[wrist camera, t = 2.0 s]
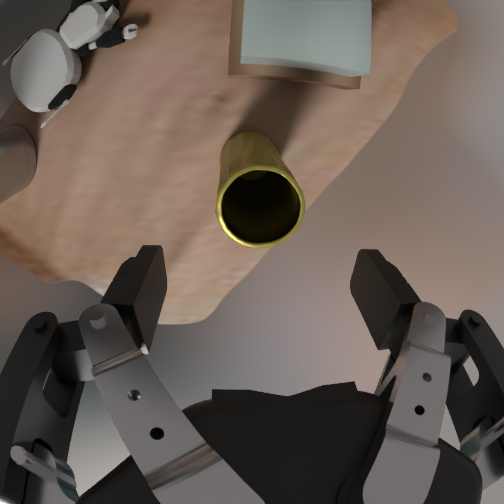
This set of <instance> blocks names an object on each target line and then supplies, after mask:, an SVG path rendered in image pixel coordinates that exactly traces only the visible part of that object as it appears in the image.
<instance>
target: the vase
mask: <svg viewBox="0 0 504 504" xmlns="http://www.w3.org/2000/svg"><path fill="white" fill-rule="evenodd" d="M220 165H221V167H220V182H219V187H218V192H217V203H216V210H215V212H216V217H217V220H218V222H219V224H220V226H221V227H222V229H223V230H224V232H225V233H226V234H227V235H228V236H229V237H230V238H231V239H232V240H234V241H235V242H237V243H239V244H241V245H243V246H246V247H250V248H266V247H271V246H275V245H277V244H280V243H281V242H283V241H285V240H287V239H288V238H290V237H291V236H292V235H293V234H294V233H295V232H296V231H297V229H298V228H299V226H300V224H301V222H302V219H303V216H304V212H305V200H304V195H303V192H302V190H301V189H300V187H299V185H298V184H297V182H296V180H295V178H294V176H293V175H292V173H291V172H290V170H289V169H288V168H287V166H286V165H285V163H284V162H283V160H282V158H281V157H280V155H279V153H278V150H277V148H276V146H275V145H274V143H273V142H272V141H271V139H269V138H268V137H267V136H265V135H263V134H261V133H259V132H253V131H247V132H241V133H239V134H237V135H235V136H233V137H232V138H230V139H229V140H228V141H227V142H226V144H225V145H224V147H223V149H222V151H221V156H220Z"/></svg>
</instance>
